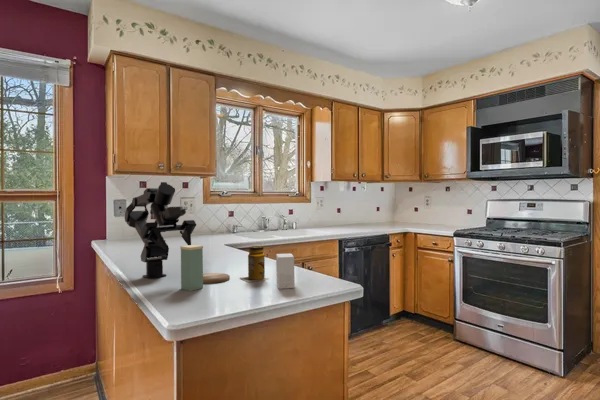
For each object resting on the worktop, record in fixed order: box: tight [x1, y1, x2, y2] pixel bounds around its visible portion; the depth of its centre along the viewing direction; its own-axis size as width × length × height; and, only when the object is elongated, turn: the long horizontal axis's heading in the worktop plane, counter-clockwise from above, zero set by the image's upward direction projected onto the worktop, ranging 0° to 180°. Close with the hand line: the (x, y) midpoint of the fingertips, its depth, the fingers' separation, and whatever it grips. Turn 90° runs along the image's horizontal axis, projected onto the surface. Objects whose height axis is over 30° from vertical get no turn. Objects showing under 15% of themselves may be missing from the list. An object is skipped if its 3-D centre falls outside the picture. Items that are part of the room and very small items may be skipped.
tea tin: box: [179, 244, 204, 292], centre depth 120 cm, size 5×5×14 cm
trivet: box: [203, 272, 231, 285], centre depth 133 cm, size 13×13×1 cm
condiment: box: [240, 245, 269, 283], centre depth 133 cm, size 7×8×12 cm
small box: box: [275, 253, 296, 290], centre depth 122 cm, size 8×6×10 cm
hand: (178, 246), depth 125 cm, fingers open, 9 cm apart
